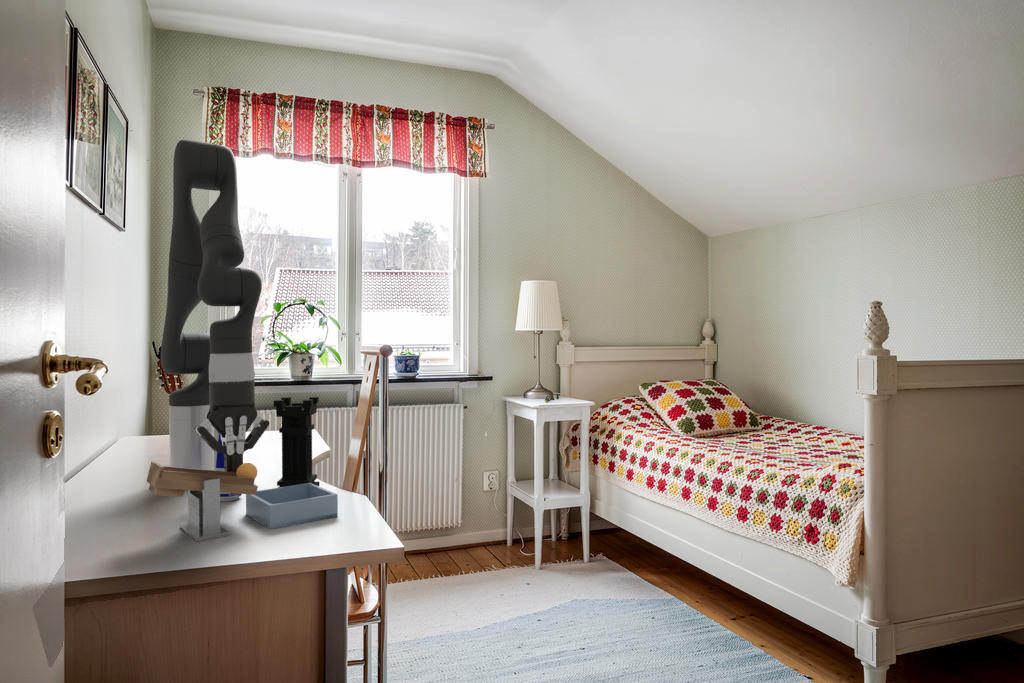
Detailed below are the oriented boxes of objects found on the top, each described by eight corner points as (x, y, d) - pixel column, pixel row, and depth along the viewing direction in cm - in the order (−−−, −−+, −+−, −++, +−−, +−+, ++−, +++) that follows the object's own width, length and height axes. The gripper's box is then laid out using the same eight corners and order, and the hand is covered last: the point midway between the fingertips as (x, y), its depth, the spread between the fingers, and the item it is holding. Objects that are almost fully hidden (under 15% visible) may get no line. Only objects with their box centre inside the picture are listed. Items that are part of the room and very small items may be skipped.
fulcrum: (180, 527, 114) (179, 472, 114) (211, 522, 118) (210, 468, 117) (196, 541, 107) (195, 482, 107) (229, 535, 110) (228, 477, 110)
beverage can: (232, 502, 131) (231, 426, 131) (208, 501, 132) (208, 425, 132) (247, 496, 136) (246, 422, 136) (224, 495, 137) (224, 422, 137)
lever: (138, 483, 113) (144, 456, 113) (233, 490, 123) (239, 465, 123) (153, 496, 104) (160, 467, 105) (255, 502, 114) (261, 475, 115)
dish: (246, 514, 122) (245, 492, 122) (310, 503, 130) (309, 482, 130) (270, 529, 113) (270, 505, 113) (337, 516, 121) (337, 494, 121)
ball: (231, 465, 116) (250, 458, 119) (236, 483, 117) (255, 476, 119) (237, 468, 114) (257, 461, 116) (243, 487, 114) (262, 479, 117)
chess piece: (282, 493, 138) (281, 396, 138) (321, 492, 139) (321, 396, 139) (271, 503, 130) (271, 400, 130) (313, 502, 131) (313, 400, 131)
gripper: (261, 375, 127) (263, 466, 127) (186, 379, 119) (188, 476, 119) (276, 377, 121) (278, 472, 122) (198, 381, 113) (200, 483, 113)
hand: (233, 474), depth 120 cm, fingers closed
